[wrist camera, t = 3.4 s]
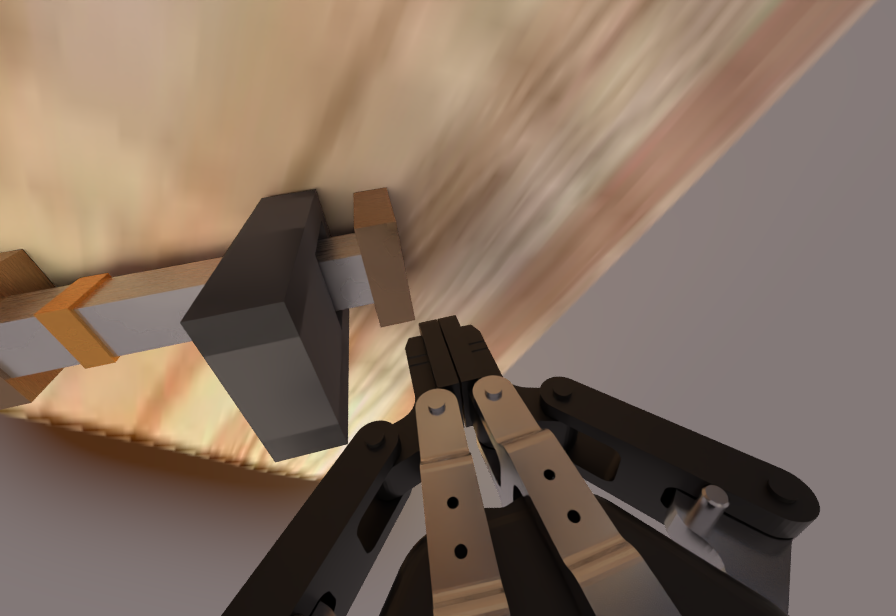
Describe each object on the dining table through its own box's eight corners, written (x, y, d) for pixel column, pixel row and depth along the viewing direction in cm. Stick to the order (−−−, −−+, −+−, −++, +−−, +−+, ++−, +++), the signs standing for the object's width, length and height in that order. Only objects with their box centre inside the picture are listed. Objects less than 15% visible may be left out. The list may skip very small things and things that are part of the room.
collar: (315, 189, 21) (283, 301, 11) (349, 295, 25) (348, 443, 15) (261, 198, 20) (180, 322, 11) (305, 304, 25) (275, 462, 15)
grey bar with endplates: (386, 187, 22) (395, 221, 17) (403, 272, 25) (415, 319, 21) (-19, 256, 19) (-138, 318, 15) (62, 340, 23) (-13, 412, 18)
